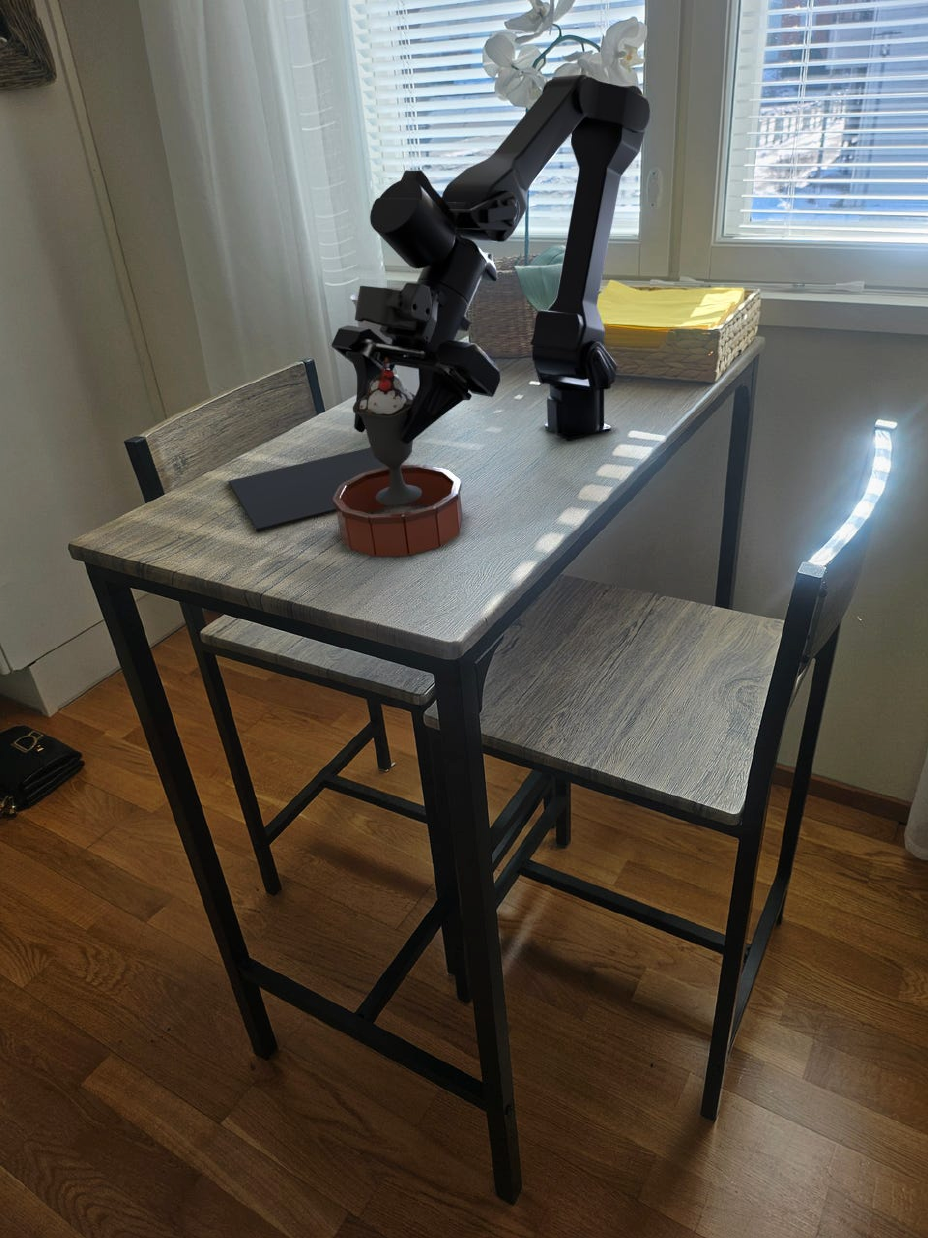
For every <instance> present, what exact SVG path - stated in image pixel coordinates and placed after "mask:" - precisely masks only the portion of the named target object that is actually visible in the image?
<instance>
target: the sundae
mask: <svg viewBox="0 0 928 1238" xmlns="http://www.w3.org/2000/svg"><path fill="white" fill-rule="evenodd" d="M388 361H389V360H388V358H385V362H384V366H383V367H382V373H381V375H380V374H378V375H377V376H376V377H375V378H374V379H373V380H372V382H371V384H370V388H369V391H368V394H367V395H366V396H365V397H363V398H361V399H359V400H357V401H356V400H355V402H354V403H353V406H352V412H353V414H355V413H356V414H358V415H360V416H361V417H362V420H363V423H364V425H365V428H366V429H365V431H366V435H367V439H368V443H369V446H370V447H371V449H372V451H373V454H374V457H375V458H376V459H377V460H378V461H380V462H381V463H383V464H385V465H386V466H387V467H388V468H389V470H390V478H391V481H390V486H389V487H387V488H385V489H383V490H381V491H380V492H378V493H377V495H376V497H375V498H376V501H377V502H379V503H380V504H383V505H387V506H393V507H401V506H407V505H406V504H409V503H412V502H414V501H416V500H418V499H419V498H420V497H421V495H422V491H421V489H420V488H418V487H416V486H412V485H406V484H405V483H404V481H403V478H402V473H401V465H403V464H404V463H405V462H406V461H407V460H408V459H409V457H410V455H411V454H412V452H413V443H414V440H413V441H411V442H410V443H409V444H405V443H404V442H402V441H401V440H400V436H401V433H402V429H403V426H404V423H405V420H406V418H407V416H408V413H409V411H410V408H411V406H412V403H413V401H414V398H415V395H413V394H411V392H408V391H407V389H404V387H403V384H402V383H401V381H400V380H399V379H398V376H396V375H395V374H394V372H393V371H394V370H393V371H392V370H390V369H386V367H385V365H386V364H387V363H388ZM384 369H385V370H384ZM383 370H384V371H383Z"/></svg>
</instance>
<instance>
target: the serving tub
mask: <svg viewBox="0 0 928 1238" xmlns="http://www.w3.org/2000/svg"><path fill="white" fill-rule="evenodd" d="M401 473H402V478H403V481H404V483H405V484H406V485H412V486H416V487H418V488H420V489H421V491H422V495H421V497H420V498H419V499H418V500H416V501H414V502H412V503H409V504H406V505H405V506H421V505H425V506H426V507H422V508H418V509H414V510H411V511H407V512H403V513H374V514H372V513H373V512H377V511H381V510H385V509H389V508H392V507H394V506H387V505H383V504H380V503H379V502H377V501H376V498H375V497H376V495H377V493H378V492H380V491H381V490H383V489H385V488H387V487H389V486H390V481H391V478H390V470H389V468H388V467H385V468H381V469H377V470H373V471H369V472H365V473H362V474H359V475H357V476H355V477H354V478H352V479H350V480H348V481H346V482H345V483H343V484H341V485H340V486H339V488H338V489H337V491H336V493H335V495H334V497H333V505H334V506H335V508H336V511H337V512H336V516H337V521H338V527H339V528H338V529H339V533H340V538H341V539H342V541H343V542H344V543H345V544H346V546H347V547H348V548H349V549H350V550H351V551H354V552H358V553H362V554H365V555H368V556H371V557H379V558H380V557H383V558H384V557H408V556H413V555H417V554H420V553H424V552H427V551H432V550H435V549H439V548H440V547H442V546H444V545H445V544H447V543H448V542H449V541H451V540H453V538H456V537H457V536H458V535H459V534H460V533H461V528H462V526H463V525H462V524H463V520H464V518H463V507H462V498H461V497H462V496H461V491H462V487H463V486H462V480H461V479H460V478H459V477H457V476H456V475H455V474H454V473H452V472H451V471H450V470H448V469H446V468H440V467H436V466H431V465H425V464H407V465H406V464H404V465H403V464H402V466H401Z"/></svg>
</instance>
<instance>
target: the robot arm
mask: <svg viewBox="0 0 928 1238" xmlns="http://www.w3.org/2000/svg"><path fill="white" fill-rule="evenodd" d="M650 118H651V108H650V103H649V100H648V99H647V97H646V96H645V95H644V94H643V91H642V90H641V88H640V87H639V86H637V85H634V84H633V85H617V84H613V83H608V82H604V81H599V80H598V79H596V78H594V77H592V76H588V75H587V74H574V75H561V76H554V77H552V78H551V79H549V80H547V81H546V82H545V84H544V86H543V88H542V93H541V95H540V96H539V97H538V98H537V99H536V101H535V102H534V103H533V104H532V105H531V106H530V108H529V109H528V111H527V112H526V113H525V114H524V115H523V117H522V118H521V119H520V120H519V122H518V123H517V124H515V126H514V127H513V129H512V130H511V131H510V133H509V134H508V135H507V137H506V138H505V139H504V140H503V141H502V143H501V144H500V145H499V146H498V148H497V149H496V150H495V151H494V152H493V153H492V155H490V156H488V157H487V158H486V159H485V160H483V161H480V162H477V163H475V164H474V165H471V166H470V167H467V168H466V169H465V170H463V171H462V172H461V173H459V174H458V175H457V176H456V177H455V178H453V179H452V180H451V181H450V182H449V183H447V185H446V186H445V189H443V192H442V194H439V192H438V191H437V190H436V189H435V188H434V187H433V185H432V183H431V181H430V179H429V178H428V176H427V175H426V174H425V173H424V172H423V170H422V169H418V170H415V169H412V170H411V169H409V170H404V172H403V174H402V177H401V179H400V180H398V181H396V182H394V183H393V184H391V185H390V186H389V187H387V188H386V190H384V191H383V193H381V195H380V196H379V197H377V198H376V199H375V200H374V202H373V205H372V207H371V210H370V215H369V220H370V221H369V222H370V225H371V227H372V229H373V230H374V231H375V232H376V234H378V235H379V236H380V237H381V238H382V239H383V240H384V241H385V242H386V243H387V245H388V246H389V247H391V249H392V250H393V251H394V252H395V253H396V254H397V255H398V256H399V257H400V259H402V261H404V262H405V264H407V265H408V266H409V267H410V268H413V269H422V270H421V272H420V274H419V276H418V278H417V281H416V283H415V282H406V283H405V284H404V286H403V288H401V289H402V290H401V291H400V290H392V289H387V288H388V287H380V286H379V287H377V286H366V285H359V290H358V292H359V295H358V301H357V307H355V314H354V320H355V321H357V322H358V321H360V322H363V321H368V322H371V323H375V324H378V325H382V326H381V328H380V330H379V331H380V332H381V333H382V334H383V335H384V336H386V337H389V338H391V339H392V342H391V344H387V343H386V342H385V341H384V340H382V339H381V338H380V337H379V336H378V335H377V334H376V333H374V332H373V331H372V330H371V329H370V328H363V327H358V326H356V325H349V324H347V325H345V326H341V327H339V328H338V329H337V331H336V334H335V335H334V338H333V340H332V342H331V347H332V348H333V349H334V350H336V352H338V354H340V355H341V356H343V357H344V358H345V359H346V360H348V361H349V362H350V363H351V364H352V365H353V367H354V371H355V373H356V374H355V375H356V396H355V397H356V398H355V402H356V401H357V400H359V399H361V398H363V397H365V396H366V395H367V394H368V391H369V388H370V384H371V382H372V380H373V379H374V378H375V377H376V376H377V375H378V374H380V375H381V373H382V367H383V366H384V362H385V358H388V360H389V361H388V363H387V364H386V365H385V367H386V369H390V370H392V371H394V369H395V368H396V367H395V365H399V366H405V367H410V368H416V369H419V388H418V391H417V393H416V396H415V398H414V401H413V403H412V406H411V408H410V411H409V413H408V416H407V418H406V420H405V423H404V426H403V429H402V433H401V436H400V440H401V441H402V442H404V443H405V444H409V443H410V442H411V441H413V442H414V440H415V439H417V438H418V437H419V436H420V435H421V434H422V433H423V432H424V431H425V430H428V428H429V427H431V426H432V425H433V424H434V423H435V422H436V421H438V420H439V419H440V418H442V416H444V415H445V414H447V413H448V412H450V411H451V410H452V409H454V408H455V407H457V406H458V405H459V404H460V403H462V402H463V401H470V400H471V399H472V397H473V396H472V394H474V395H479V396H483V397H488V398H489V397H490V398H493V397H494V396H495V394H496V391H497V389H498V387H499V385H500V382H501V371H500V367H499V365H497V364H496V363H495V362H494V361H493V359H491V358H490V357H489V356H488V355H487V353H486V352H485V351H484V350H483V349H481V347H479V346H478V344H477V343H474V342H467V341H459V340H455V339H456V337H457V334H458V333H459V332H468V331H469V329H470V326H471V324H472V323H471V321H470V320H469V319H468V317H466V314H467V311H468V309H469V308H470V306H471V305H470V304H471V302H472V300H473V298H474V295H475V293H476V291H477V290H478V287H479V284H480V282H481V281H485V282H497V280H498V270H497V268H496V266H495V264H494V260H493V253H492V252H483V251H482V249H481V248H480V247H479V246H478V245H477V244H476V242H489V243H503V242H507V240H509V239H510V238H511V237H512V236H513V234H514V233H515V232H516V230H517V227H518V226H519V224H520V222H521V220H522V218H523V217H524V215H525V213H526V212H527V209H528V191H529V190H530V188H531V187H532V185H533V183H534V182H535V180H536V179H537V178H538V177H539V176H540V174H541V173H542V172H543V170H544V169H545V168H546V166H547V165H548V164H549V163H550V161H551V160H552V159H553V157H554V156H555V155H556V154H557V152H558V151H559V150H560V148H561V147H562V146H563V145H564V143H565V142H566V141H567V140H568V138H569V137H570V146H571V149H572V152H573V155H574V158H575V161H576V164H577V167H578V172H577V179H576V184H575V190H574V197H573V201H572V208H571V213H570V219H569V225H568V231H567V235H566V241H565V248H564V253H563V257H562V258H563V259H562V263H561V270H560V275H559V281H558V287H557V293H556V297H555V299H554V301H553V302H552V303H551V304H550V305H549V307H548V308H547V309H546V310H543V309H539V310H538V312H537V313H536V315H535V319H534V320H535V321H534V331H533V334H532V337H531V340H530V342H529V343H530V344H529V345H530V346H531V360H532V362H533V366H534V369H535V372H536V375H537V379H538V382H539V384H541V385H549V396H548V397H547V399H546V412H547V414H546V415H547V417H546V418H547V423H544V428H545V429H546V430H547V431H550V432H551V433H553V434H555V435H556V436H558V437H559V438H562V439H563V440H565V441H567V442H572V441H576V440H580V439H584V438H588V437H592V436H596V435H600V434H604V433H607V432H610V431H611V430H612V426H610V425H608V424H607V423H605V390H609V389H611V388H612V384H614V383H615V382H616V378H617V377H616V376H617V371H618V364H617V363H616V362H615V360H614V358H612V356H611V355H610V354H609V352H608V351H607V349H606V348H605V347H604V343H605V334H606V330H605V326H604V323H603V320H602V317H601V314H600V311H599V309H598V300H599V295H600V289H601V284H602V278H603V273H604V268H605V263H606V259H607V258H606V257H607V253H608V247H609V242H610V235H611V230H612V226H613V220H614V215H615V211H616V205H617V201H618V200H617V199H618V194H619V189H620V184H621V179H622V176H624V173H625V172H626V171H627V170H628V168H629V167H630V165H631V164H632V163H633V162H634V161H635V159H636V158H637V156H638V155H639V154H640V151H641V148H642V144H643V141H644V137H645V133H646V130H647V127H648V125H649V123H650ZM404 356H406V357H404ZM384 370H385V369H384ZM384 370H383V371H384ZM353 428H354V430H355V431H357V432H359V433H364V432H365V431H366V428H365V425H364V423H363V420H362V417H361V416H360V415H358V414H356V413H354V419H353Z"/></svg>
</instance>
